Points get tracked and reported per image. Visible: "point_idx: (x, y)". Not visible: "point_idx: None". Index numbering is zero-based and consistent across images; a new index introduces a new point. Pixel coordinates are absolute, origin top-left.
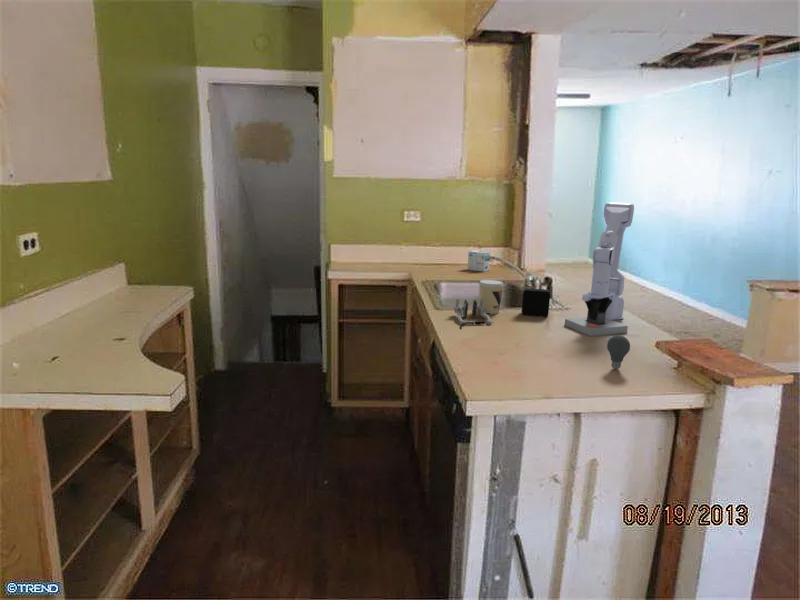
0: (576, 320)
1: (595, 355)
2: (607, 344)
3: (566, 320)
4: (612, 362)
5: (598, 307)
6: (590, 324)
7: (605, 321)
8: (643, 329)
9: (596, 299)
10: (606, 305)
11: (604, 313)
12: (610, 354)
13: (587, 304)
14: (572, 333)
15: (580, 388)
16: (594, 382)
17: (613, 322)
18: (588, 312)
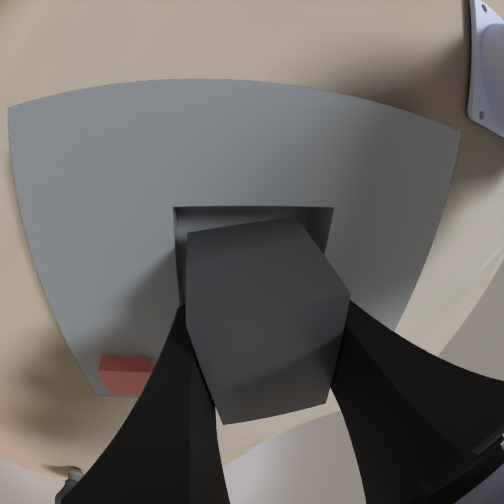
0: (80, 195)
1: (57, 441)
2: (55, 501)
3: (15, 131)
4: (68, 477)
5: (224, 484)
6: (112, 381)
7: (352, 287)
8: (454, 304)
9: (446, 446)
10: (358, 464)
11: (305, 405)
12: (62, 488)
13: (110, 473)
14: (23, 300)
15: (15, 460)
16: (33, 464)
17: (375, 314)
18: (190, 316)
